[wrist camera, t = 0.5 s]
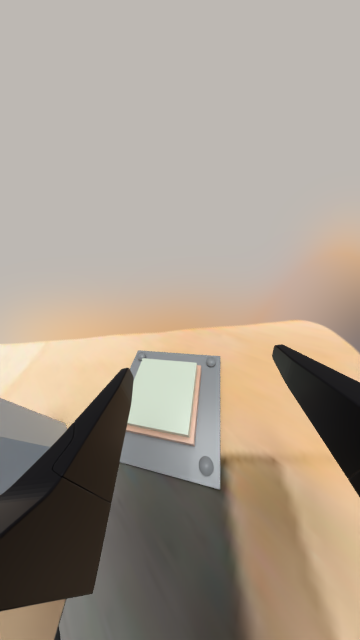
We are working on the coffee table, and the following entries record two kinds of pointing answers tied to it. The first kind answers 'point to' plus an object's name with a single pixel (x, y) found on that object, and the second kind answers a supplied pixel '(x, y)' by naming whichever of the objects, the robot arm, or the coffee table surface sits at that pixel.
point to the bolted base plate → (175, 416)
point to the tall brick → (23, 440)
